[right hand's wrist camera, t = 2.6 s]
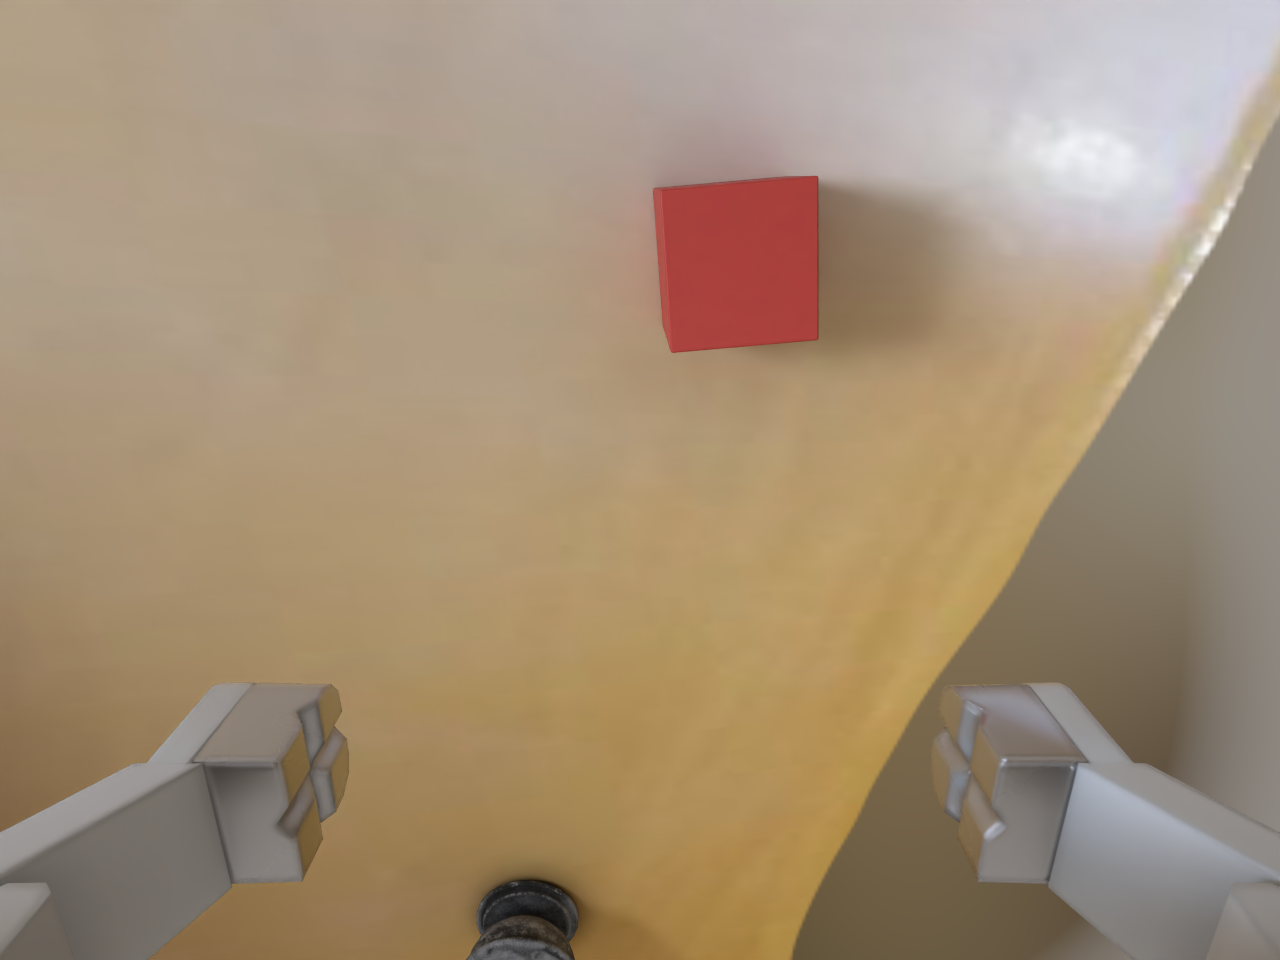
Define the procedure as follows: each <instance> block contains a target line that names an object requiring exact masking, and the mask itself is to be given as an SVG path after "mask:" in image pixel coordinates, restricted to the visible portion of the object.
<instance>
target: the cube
mask: <svg viewBox="0 0 1280 960" xmlns="http://www.w3.org/2000/svg"><path fill="white" fill-rule="evenodd" d="M653 195H654V209H655V223H656V237H657V250H658V264H659V278H660V292H661V306H662V320H663V328H664V331H665V334H666V338H667V341H668V344H669V347H670V350H671V352H672V353H676V352H687V351H698V350H710V349H721V348H732V347H744V346H755V345H766V344H778V343H789V342H801V341H812V340H818V176H786V177H774V178H763V179H752V180H741V181H729V182H718V183H707V184H696V185H684V186H673V187H662V188H654V189H653Z"/></svg>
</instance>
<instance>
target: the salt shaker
mask: <svg viewBox="0 0 1280 960" xmlns="http://www.w3.org/2000/svg"><path fill="white" fill-rule="evenodd" d="M477 926H478V929H479V932H480V934H481V935H482V936H481V937H480V938H479V940H478V941H477V943H476V944H475V946H474V947H473V949H472V951H471V954H470V956H469V957H468V958H467V959H466V960H575V958H574V955H573V952H572V949H571V946H570V944H569V941H570V940H571V939H572V938H573V936H574V934H575V932H576V930H577V928H578V912H577V909H576V906H575V904H574V903H573V901H572V900H571V898H570V897H569V896H568V895H566V894H565V893H564V892H563V891H562V890H560V889H558V888H556V887H554V886H552V885H550V884H546V883H542V882H538V881H524V880H523V881H516V882H510V883H507V884H504V885H502V886H499V887H497V888H496V889H494V890H493V891H491V892H490V893H488V894H487V895H486V897H485V898H484V899H483V900H482V901H481V903H480V906H479V908H478V911H477Z"/></svg>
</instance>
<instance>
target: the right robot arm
mask: <svg viewBox="0 0 1280 960" xmlns="http://www.w3.org/2000/svg"><path fill="white" fill-rule="evenodd" d="M341 712H342V707H341V703H340V698H339V693H338V690H337V689H336V688H335V687H334V686H333V685H332V684H292V683H258V684H257V683H220V684H218V685H215V686H212V687H211V688H210V690H209V691H208V692H207V693H206V694H205V695H204V697H203V698H202V699H201V700H200V701H199V702H198V704H197V705H196V706H195V707H194V708H193V709H192V711H191V712H190V713H189V714H188V715H187V716H186V718H185V719H184V720H183V721H182V722H181V723H180V724H179V726H178V727H177V728H176V729H175V730H174V731H173V733H172V734H171V735H170V736H169V737H168V738H167V740H166V741H165V742H164V743H163V744H162V745H161V747H160V748H159V749H158V750H157V751H156V752H155V754H154V755H153V756H152V757H151V758H150V759H149V761H148V762H147V763H134V764H132V765H130V766H128V767H126V768H124V769H122V770H120V771H118V772H116V773H114V774H112V775H110V776H108V777H106V778H105V779H103V780H101V781H99V782H97V783H95V784H93V785H91V786H89V787H87V788H85V789H83V790H81V791H79V792H77V793H76V794H74V795H72V796H70V797H68V798H66V799H64V800H62V801H60V802H58V803H56V804H54V805H52V806H50V807H48V808H46V809H45V810H43V811H41V812H39V813H37V814H35V815H33V816H31V817H29V818H27V819H25V820H23V821H21V822H19V823H17V824H16V825H14V826H12V827H10V828H8V829H6V830H4V831H2V832H0V960H148V959H149V958H150V957H151V956H153V955H154V954H155V953H156V952H157V951H158V950H160V949H161V948H162V947H163V946H164V945H165V944H167V943H168V942H169V941H170V940H171V939H172V938H174V937H175V936H176V935H177V934H178V933H179V932H181V931H182V930H183V929H184V928H185V927H186V926H188V925H189V924H190V923H191V922H192V921H193V920H195V919H196V918H197V917H198V916H199V915H200V914H202V913H203V912H204V911H205V910H206V909H207V908H209V907H210V906H211V905H212V904H213V903H214V902H216V901H217V900H218V899H219V898H220V897H221V896H223V895H224V894H225V893H226V892H227V891H228V890H230V889H231V888H232V884H236V883H270V882H302V880H303V878H304V876H305V874H306V872H307V870H308V868H309V866H310V864H311V862H312V860H313V858H314V856H315V854H316V852H317V850H318V848H319V846H320V844H321V842H322V840H323V837H322V831H321V825H320V823H321V822H323V821H324V820H325V819H327V818H328V817H329V816H331V815H332V814H334V813H335V812H336V811H337V808H338V806H339V804H340V802H341V800H342V797H343V795H344V792H345V787H346V782H347V778H348V773H349V751H348V744H347V739H346V738H345V736H344V735H343V734H342V733H341V732H340V731H339V730H338V729H337V728H336V727H335V726H334V725H335V723H336V721H337V720H338V718H339V716H340V714H341ZM938 712H939V714H940V716H941V718H942V720H943V721H944V723H945V725H946V726H945V727H944V729H942V730H941V731H940V732H939V734H937V736H936V737H935V738H934V739H933V745H932V754H931V768H932V780H933V784H934V788H935V791H936V795H937V797H938V800H939V802H940V804H941V806H942V808H943V811H944V812H945V813H947V814H948V815H949V816H951V817H952V818H953V819H955V820H956V821H958V822H959V823H960V825H959V831H958V837H957V839H958V842H959V844H960V845H961V848H962V850H963V852H964V854H965V856H966V858H967V860H968V862H969V864H970V866H971V868H972V870H973V872H974V874H975V876H976V878H977V880H978V882H1009V883H1044V884H1048V887H1049V888H1050V889H1051V890H1052V891H1053V892H1054V893H1056V894H1057V895H1058V896H1059V897H1060V898H1061V899H1062V900H1064V901H1065V902H1066V903H1067V904H1068V905H1069V906H1071V907H1072V908H1073V909H1074V910H1075V911H1077V912H1078V913H1079V914H1080V915H1081V916H1082V917H1083V918H1085V919H1086V920H1087V921H1088V922H1089V923H1090V924H1092V925H1093V926H1094V927H1095V928H1096V929H1097V930H1099V931H1100V932H1101V933H1102V934H1103V935H1104V936H1106V937H1107V938H1108V939H1109V940H1110V941H1111V942H1113V943H1114V944H1115V945H1116V946H1117V947H1118V948H1120V949H1121V950H1122V951H1123V952H1124V953H1125V954H1127V955H1128V956H1129V957H1130V958H1131V959H1132V960H1280V832H1278V831H1276V830H1274V829H1272V828H1270V827H1268V826H1266V825H1264V824H1262V823H1260V822H1258V821H1256V820H1255V819H1253V818H1251V817H1249V816H1247V815H1245V814H1243V813H1241V812H1239V811H1237V810H1235V809H1233V808H1231V807H1229V806H1227V805H1226V804H1224V803H1222V802H1220V801H1218V800H1216V799H1214V798H1212V797H1210V796H1208V795H1206V794H1204V793H1202V792H1200V791H1199V790H1197V789H1195V788H1193V787H1191V786H1189V785H1187V784H1185V783H1183V782H1181V781H1179V780H1177V779H1175V778H1174V777H1172V776H1170V775H1168V774H1166V773H1164V772H1162V771H1160V770H1158V769H1156V768H1154V767H1152V766H1150V765H1148V764H1146V763H1133V762H1132V761H1131V759H1130V758H1129V757H1128V756H1127V755H1126V754H1125V752H1124V751H1123V750H1122V749H1121V748H1120V747H1119V745H1118V744H1117V743H1116V742H1115V741H1114V740H1113V738H1112V737H1111V736H1110V735H1109V734H1108V733H1107V731H1106V730H1105V729H1104V728H1103V727H1102V726H1101V725H1100V723H1099V722H1098V721H1097V720H1096V719H1095V718H1094V716H1093V715H1092V714H1091V713H1090V712H1089V711H1088V710H1087V708H1086V707H1085V706H1084V705H1083V704H1082V702H1081V701H1080V700H1079V699H1078V698H1077V697H1076V695H1075V694H1074V693H1073V692H1072V691H1071V690H1070V689H1069V687H1067V686H1065V685H1063V684H1061V683H1059V682H1049V683H1021V684H1009V685H946V686H945V687H944V689H943V691H942V693H941V696H940V702H939V707H938Z"/></svg>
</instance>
